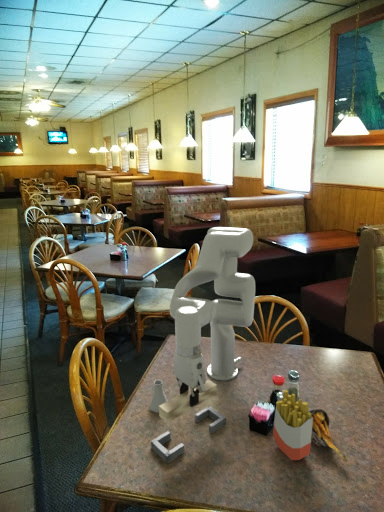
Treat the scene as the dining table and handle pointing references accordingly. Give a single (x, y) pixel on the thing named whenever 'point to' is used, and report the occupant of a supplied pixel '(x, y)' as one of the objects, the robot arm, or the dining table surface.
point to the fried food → (323, 431)
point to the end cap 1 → (163, 452)
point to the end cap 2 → (215, 415)
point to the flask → (157, 396)
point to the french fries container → (293, 426)
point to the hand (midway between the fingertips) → (189, 400)
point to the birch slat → (185, 402)
